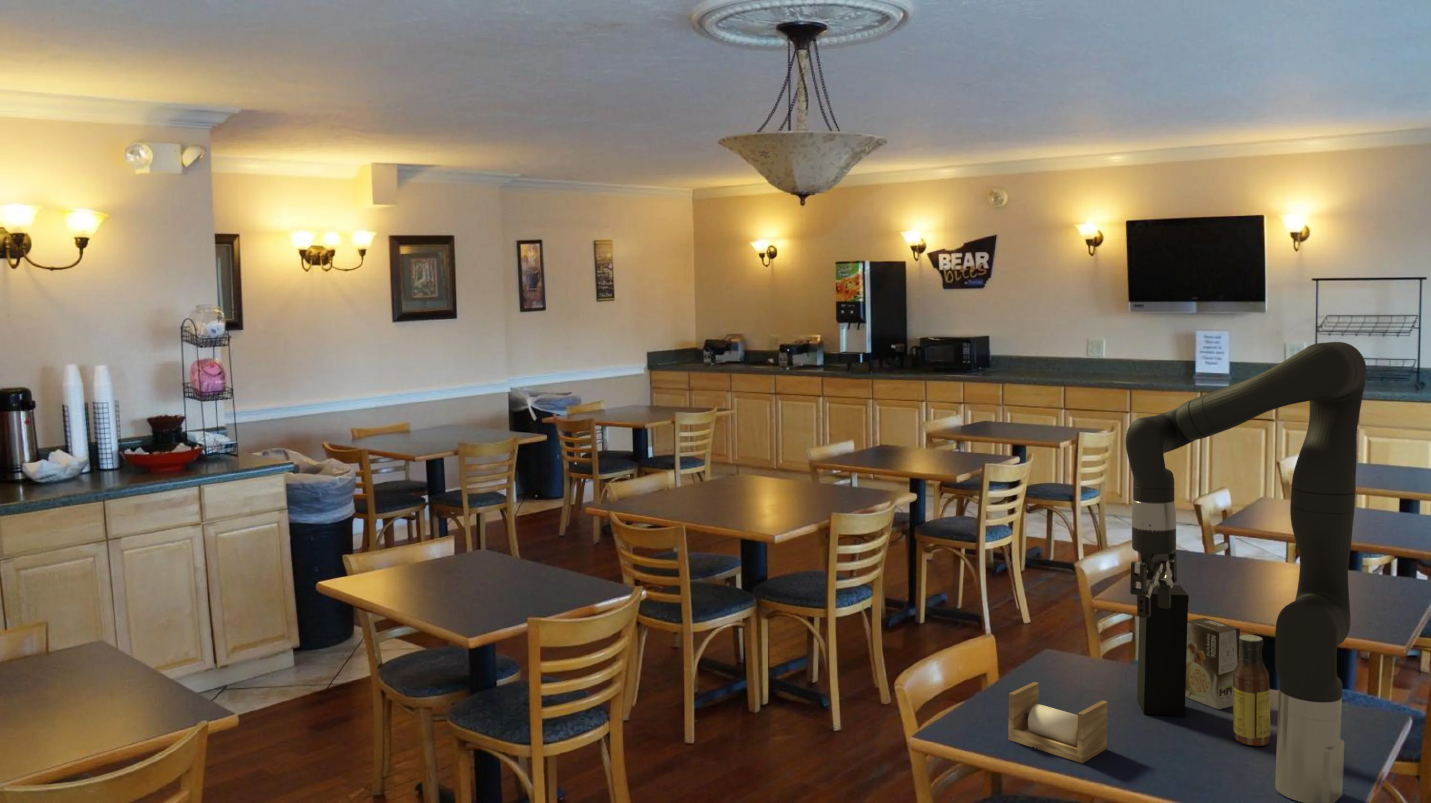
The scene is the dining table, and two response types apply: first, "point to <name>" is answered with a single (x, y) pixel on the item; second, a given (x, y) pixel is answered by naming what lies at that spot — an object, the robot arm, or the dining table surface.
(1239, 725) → the sauce bottle
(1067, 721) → the cylinder
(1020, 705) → the holder
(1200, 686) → the coffee box
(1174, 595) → the tissue box
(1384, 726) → the dining table surface
